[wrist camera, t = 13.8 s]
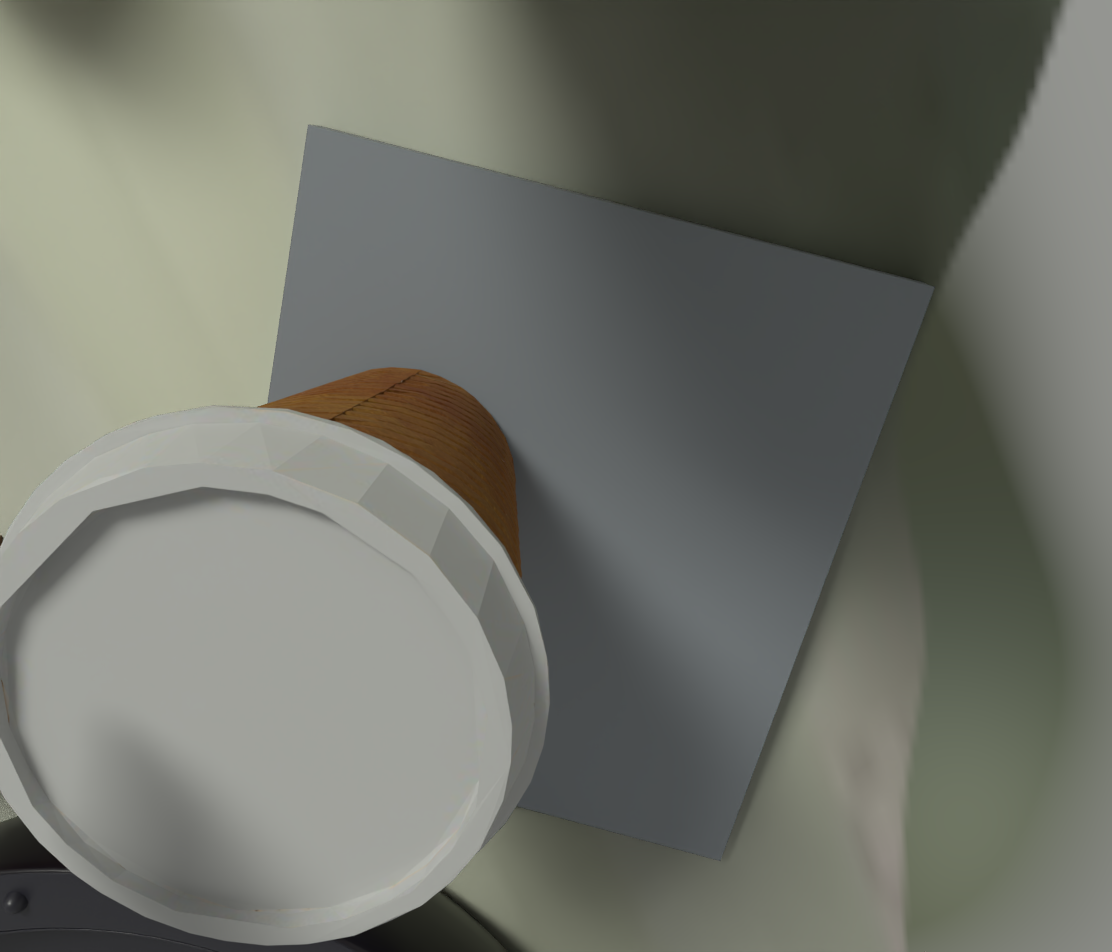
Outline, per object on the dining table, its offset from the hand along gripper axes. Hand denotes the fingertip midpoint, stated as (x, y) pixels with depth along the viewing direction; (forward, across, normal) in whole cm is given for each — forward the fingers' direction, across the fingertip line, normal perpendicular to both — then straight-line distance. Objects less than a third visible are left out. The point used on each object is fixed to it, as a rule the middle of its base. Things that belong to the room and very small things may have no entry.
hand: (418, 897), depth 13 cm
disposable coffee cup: (+14, -4, 0) cm, 15 cm away
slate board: (+15, 0, -1) cm, 15 cm away
